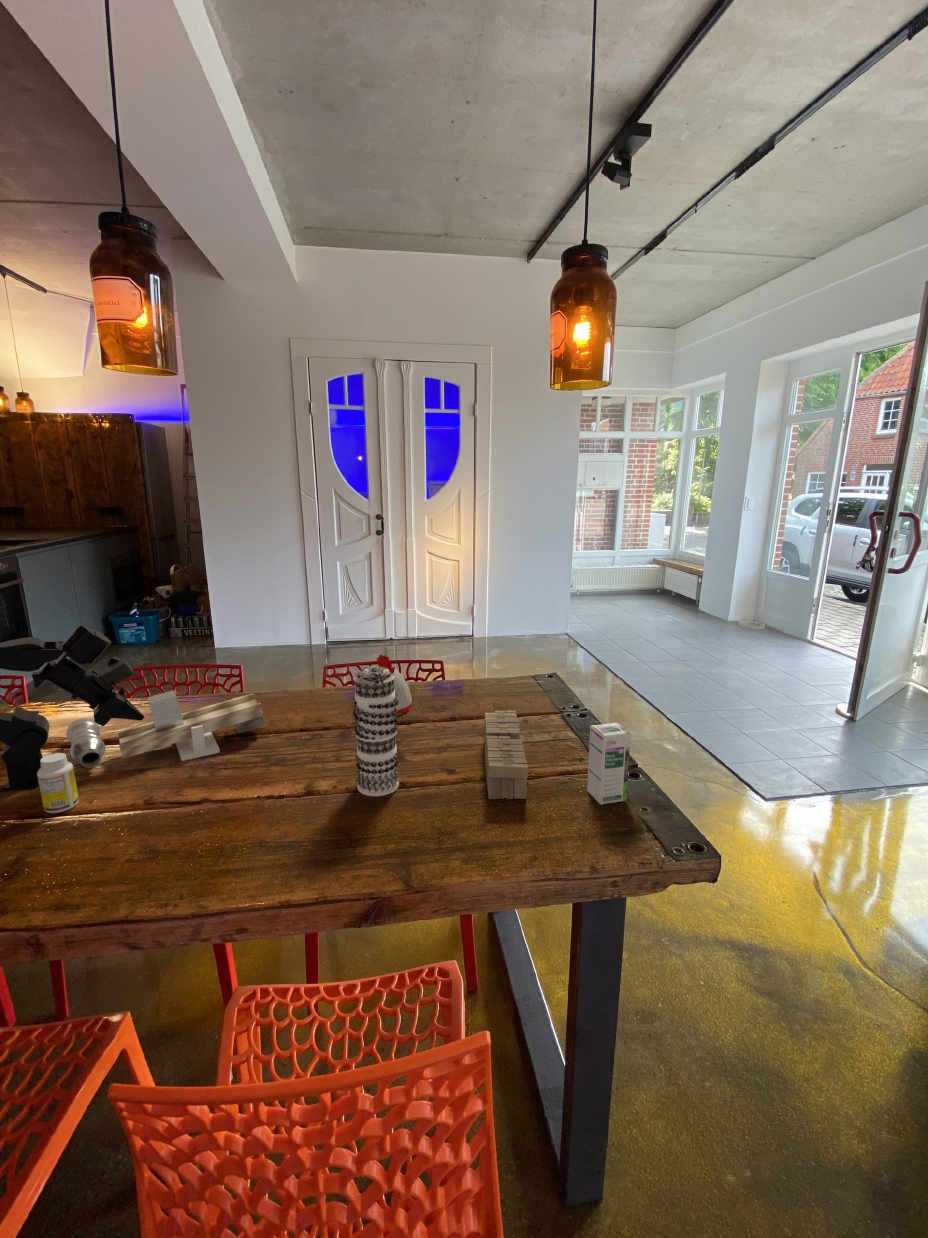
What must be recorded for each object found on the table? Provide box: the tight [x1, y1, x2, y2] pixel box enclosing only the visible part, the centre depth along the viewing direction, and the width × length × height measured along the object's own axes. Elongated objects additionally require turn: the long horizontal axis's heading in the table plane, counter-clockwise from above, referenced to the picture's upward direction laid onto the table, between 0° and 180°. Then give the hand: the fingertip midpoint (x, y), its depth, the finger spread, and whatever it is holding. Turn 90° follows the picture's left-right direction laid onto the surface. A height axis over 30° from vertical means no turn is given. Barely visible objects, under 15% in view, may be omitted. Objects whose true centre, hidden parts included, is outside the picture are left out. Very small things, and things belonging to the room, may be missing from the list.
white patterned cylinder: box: [351, 665, 400, 797], centre depth 114 cm, size 9×9×25 cm
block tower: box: [483, 709, 529, 800], centre depth 124 cm, size 8×8×29 cm
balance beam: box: [117, 693, 265, 759], centre depth 133 cm, size 30×8×6 cm, turn 123°
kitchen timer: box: [375, 654, 413, 714], centre depth 157 cm, size 14×14×15 cm
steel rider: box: [146, 690, 184, 733], centre depth 129 cm, size 6×4×8 cm
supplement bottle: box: [37, 752, 80, 814], centre depth 107 cm, size 6×6×10 cm
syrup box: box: [586, 721, 631, 806], centre depth 111 cm, size 6×6×14 cm
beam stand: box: [175, 725, 221, 762], centre depth 134 cm, size 8×14×7 cm, turn 33°
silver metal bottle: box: [65, 717, 107, 768], centre depth 128 cm, size 6×7×20 cm
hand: (142, 718), depth 127 cm, fingers closed
